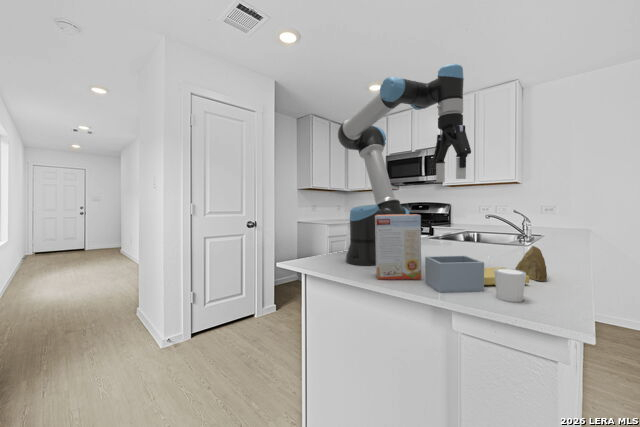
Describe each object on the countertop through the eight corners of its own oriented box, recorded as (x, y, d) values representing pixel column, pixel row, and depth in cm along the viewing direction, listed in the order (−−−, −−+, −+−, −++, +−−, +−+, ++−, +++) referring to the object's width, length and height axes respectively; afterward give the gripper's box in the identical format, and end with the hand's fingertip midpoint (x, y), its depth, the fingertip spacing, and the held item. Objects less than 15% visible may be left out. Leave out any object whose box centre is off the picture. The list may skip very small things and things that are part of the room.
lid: (462, 277, 94) (462, 268, 94) (503, 276, 95) (503, 267, 94) (482, 287, 83) (482, 277, 83) (529, 286, 84) (529, 276, 83)
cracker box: (417, 275, 97) (417, 213, 96) (421, 280, 91) (421, 214, 90) (375, 274, 98) (374, 214, 97) (376, 279, 92) (376, 215, 91)
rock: (558, 276, 84) (554, 265, 92) (537, 253, 86) (535, 243, 94) (522, 292, 90) (521, 280, 98) (503, 270, 92) (503, 260, 100)
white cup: (528, 297, 74) (528, 270, 73) (522, 304, 69) (522, 276, 69) (498, 292, 79) (498, 266, 78) (490, 298, 74) (490, 271, 74)
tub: (425, 282, 89) (425, 256, 88) (464, 281, 89) (465, 255, 89) (439, 292, 79) (439, 263, 79) (483, 290, 80) (484, 262, 79)
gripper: (423, 125, 106) (423, 182, 107) (459, 102, 81) (458, 177, 82) (443, 125, 106) (443, 182, 107) (484, 102, 81) (484, 177, 83)
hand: (449, 180), depth 95 cm, fingers open, 13 cm apart
